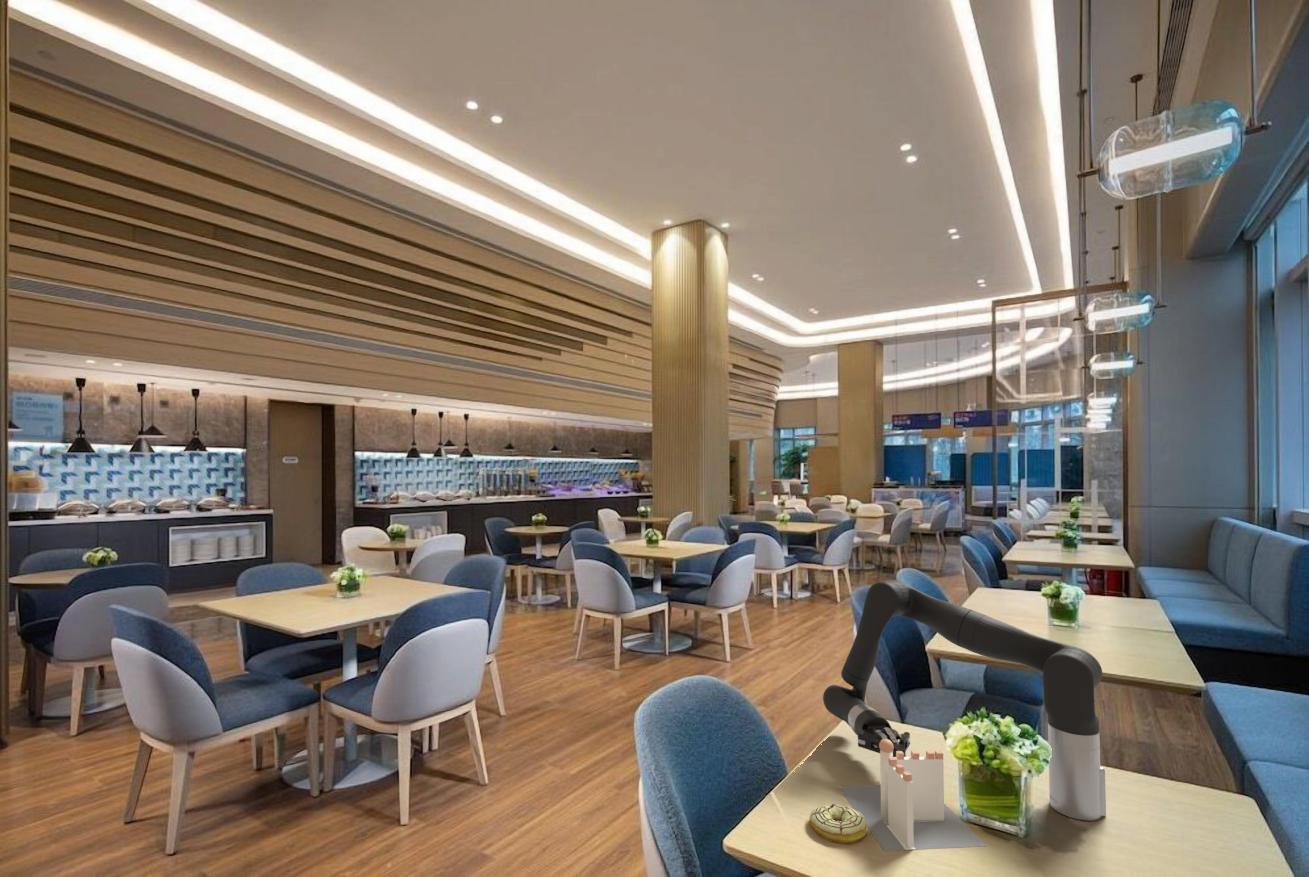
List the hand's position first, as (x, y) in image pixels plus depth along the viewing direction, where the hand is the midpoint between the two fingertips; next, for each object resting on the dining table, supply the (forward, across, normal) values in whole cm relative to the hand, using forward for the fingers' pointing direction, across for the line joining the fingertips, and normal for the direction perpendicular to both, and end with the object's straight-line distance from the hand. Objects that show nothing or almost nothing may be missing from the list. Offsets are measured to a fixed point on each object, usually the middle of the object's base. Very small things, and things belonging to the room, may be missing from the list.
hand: (901, 755), depth 141 cm
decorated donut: (+10, -18, +10) cm, 23 cm away
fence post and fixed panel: (+12, -7, +9) cm, 17 cm away
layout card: (+6, -2, +10) cm, 12 cm away
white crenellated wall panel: (+9, -1, +9) cm, 12 cm away
